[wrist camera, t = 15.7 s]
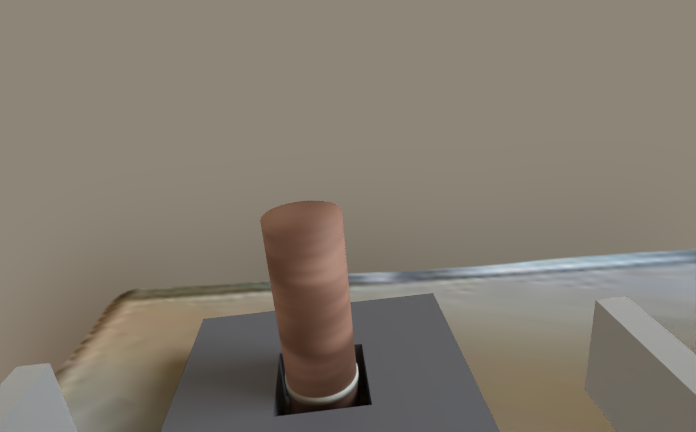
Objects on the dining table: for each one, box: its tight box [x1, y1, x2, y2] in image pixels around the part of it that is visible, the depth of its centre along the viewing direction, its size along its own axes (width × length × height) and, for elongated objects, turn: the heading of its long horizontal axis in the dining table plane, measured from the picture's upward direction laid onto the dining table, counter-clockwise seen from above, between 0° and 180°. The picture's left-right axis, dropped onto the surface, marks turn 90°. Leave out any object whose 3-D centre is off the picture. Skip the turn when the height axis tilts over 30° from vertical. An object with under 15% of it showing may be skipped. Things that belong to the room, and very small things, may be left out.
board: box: [160, 293, 500, 432], centre depth 32 cm, size 20×18×4 cm
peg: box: [260, 201, 360, 414], centre depth 30 cm, size 5×5×16 cm
